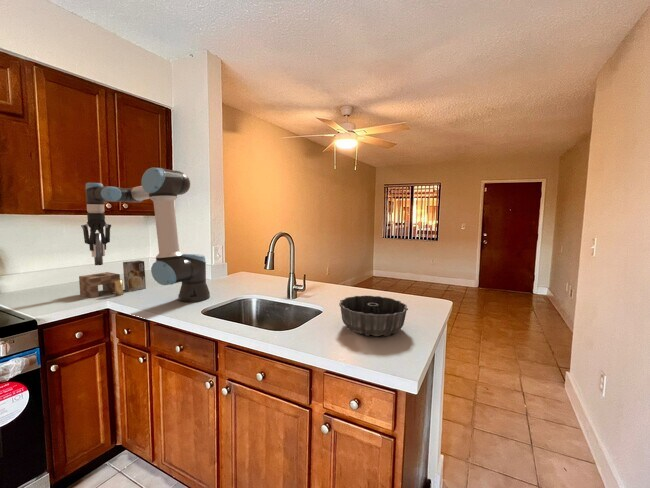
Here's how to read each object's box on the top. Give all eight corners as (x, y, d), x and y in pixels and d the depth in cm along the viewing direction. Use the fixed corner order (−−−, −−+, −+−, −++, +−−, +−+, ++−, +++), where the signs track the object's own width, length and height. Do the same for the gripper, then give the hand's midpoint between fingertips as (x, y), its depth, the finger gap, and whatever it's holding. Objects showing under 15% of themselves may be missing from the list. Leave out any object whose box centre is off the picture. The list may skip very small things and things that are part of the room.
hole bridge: (120, 292, 172) (119, 274, 171) (92, 297, 160) (90, 278, 159) (108, 289, 178) (107, 272, 177) (80, 294, 165) (78, 276, 164)
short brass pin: (124, 294, 167) (123, 280, 166) (117, 296, 163) (116, 281, 163) (120, 293, 168) (120, 279, 167) (113, 295, 165) (112, 280, 164)
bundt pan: (396, 317, 136) (397, 295, 135) (416, 342, 110) (417, 314, 109) (336, 317, 135) (336, 294, 134) (341, 342, 109) (342, 314, 108)
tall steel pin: (104, 264, 168) (102, 233, 166) (96, 265, 165) (95, 233, 163) (100, 263, 170) (99, 232, 168) (93, 264, 167) (91, 233, 165)
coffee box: (141, 286, 185) (140, 260, 183) (146, 288, 181) (144, 261, 179) (124, 289, 177) (122, 261, 176) (128, 291, 174) (127, 263, 172)
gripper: (109, 212, 174) (111, 254, 176) (73, 212, 159) (76, 257, 161) (116, 212, 170) (118, 255, 172) (81, 212, 155) (84, 258, 158)
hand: (98, 256), depth 167 cm, fingers closed on tall steel pin, 3 cm apart
